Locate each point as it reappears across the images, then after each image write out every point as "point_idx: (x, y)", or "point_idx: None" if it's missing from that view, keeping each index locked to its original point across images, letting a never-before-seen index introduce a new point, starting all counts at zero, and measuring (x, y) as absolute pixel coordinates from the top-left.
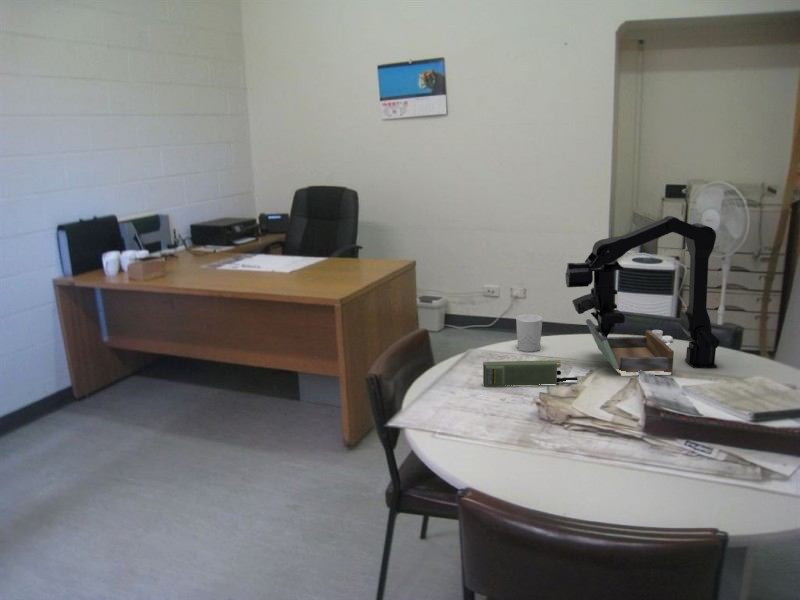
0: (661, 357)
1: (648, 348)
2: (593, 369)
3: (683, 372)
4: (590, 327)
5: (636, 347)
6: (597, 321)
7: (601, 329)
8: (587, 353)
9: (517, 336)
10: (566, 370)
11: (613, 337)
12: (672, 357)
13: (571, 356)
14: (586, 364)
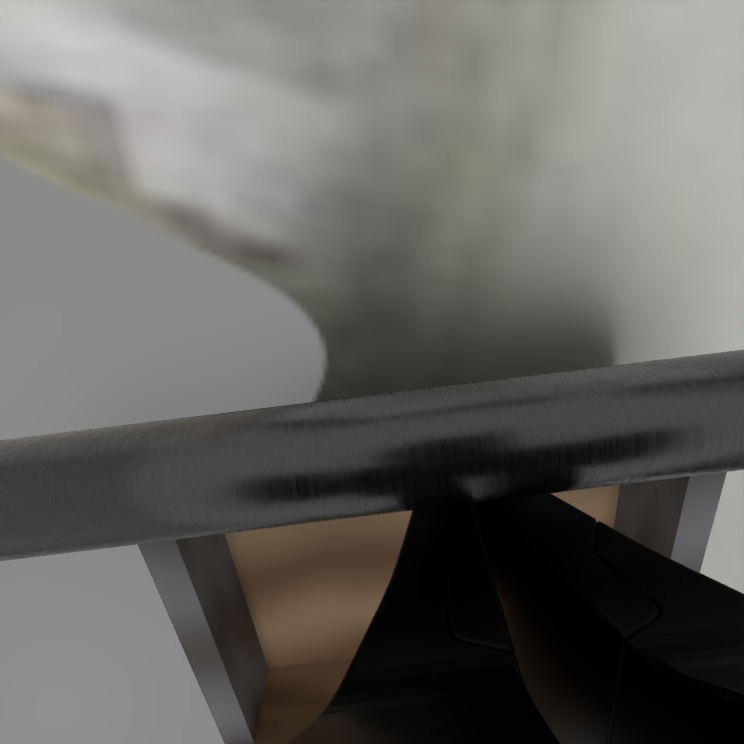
0: (235, 722)
1: None
2: (295, 277)
3: None
4: (704, 357)
5: None
6: (711, 604)
7: (405, 549)
8: (644, 276)
9: None
10: (234, 24)
11: (707, 519)
12: None
13: (597, 126)
14: (401, 237)
